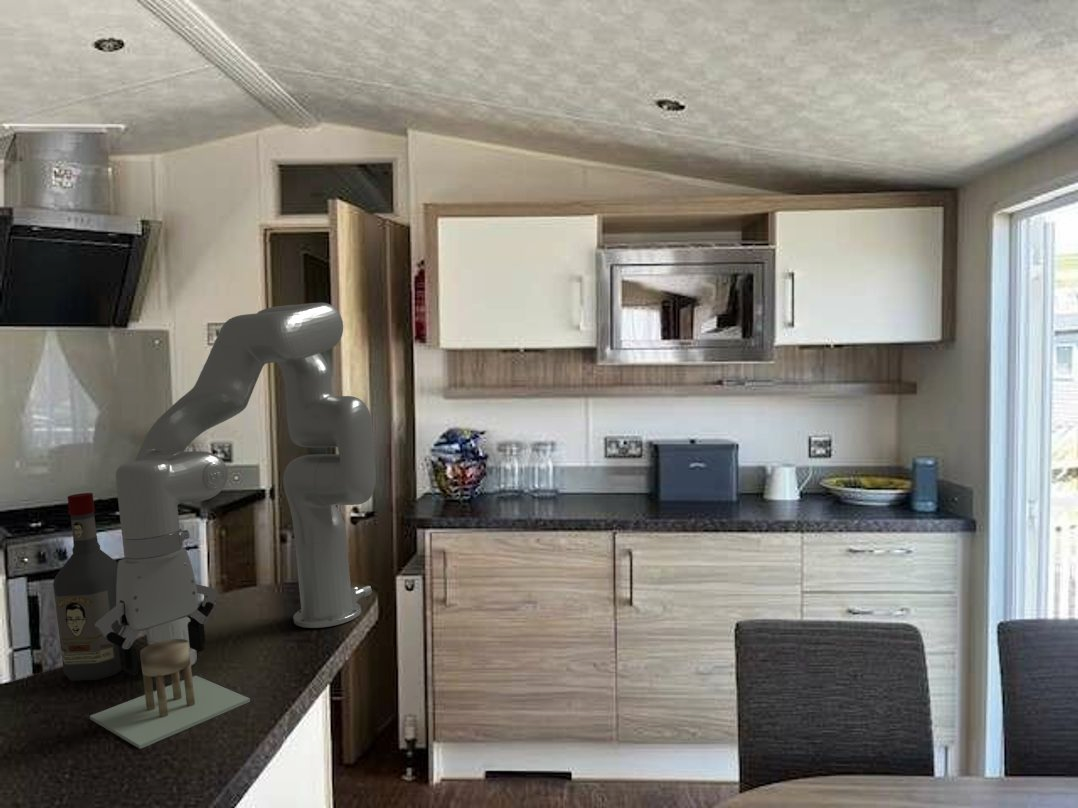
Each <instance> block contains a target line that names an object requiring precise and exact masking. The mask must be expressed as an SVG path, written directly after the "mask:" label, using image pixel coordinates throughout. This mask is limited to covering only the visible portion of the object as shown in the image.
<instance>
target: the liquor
mask: <svg viewBox="0 0 1078 808" xmlns="http://www.w3.org/2000/svg"><path fill="white" fill-rule="evenodd" d="M67 504H68V505H67V506H68V513H69V516H70V522H71V523H70V524H71V531H72V541H73V542H72V543H73V547H72V550H71V551H72V553H71V555H70V557H69V558H68V559H67V560H66V562H65V563H64V564H63V566H62V567H61V569H59V571H58V572H57V573H56V575H55V576H54V580H53V583H52V584H53V585H52V586H53V592H54V593H53V595H54V600H55V601H54V602H55V611H56V619H57V627H58V635H59V643H60V645H59V646H60V651H61V661H62V668H63V669H62V671H63V673H64V675H65V676H66V677H67V678H68V679H69V680H70V682H73V681H74V682H75V681H76V682H77V681H97V680H102V679H106V678H109V677H112V676H115V675H118V674H119V673H120V672H121V671H124V670H123V669H122V668H121V664H120V655H119V646H116V645H115V644H113V643H111V642H109V641H108V640H106V639H104V637H103V635H101V633H100V632H99V631H98V630H97V629H96V627H95V623H96V622H97V621H98V620H99V619H101V618H102V617H103V616H104V615H106V614H107V613H108V612H109V611H110V610H112V609H113V608H114V607H115V606H116V580H117V568H118V562H119V561H116V560H115V559H114V558H112V557H111V556H110V555H108V554H107V553H105V552H104V551H103V550H102V549H101V545H100V543H99V540H98V535H97V527H96V519H95V513H94V512H96V511H95V504H94V494H93V492H85V493H84V492H82V493H76V494H72V495H68V496H67ZM122 627H123V626H120V625H119V623H118V619H117V620H116V621H115V622H114V623H113V624H112V625H111V628H112V629H113V631H114V632H115V633H116V634H119V632H120V630H121V629H122ZM132 646H134V642H133V643H132Z"/></svg>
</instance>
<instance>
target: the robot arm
mask: <svg viewBox="0 0 1078 808" xmlns="http://www.w3.org/2000/svg"><path fill="white" fill-rule="evenodd" d="M343 332H344V322H343V317H342V316H341V314H340V312H339V311H338V310H337V309H336V308H335V306H333V305H331V304H330V303H327V302H311V303H301V304H300V303H299V304H287V305H286V304H285V305H278V306H271V307H268V308H267V307H266V308H263V309H261V310H259V311H258V312H256V313H247V314H246V313H245V314H241V315H235V316H233V317H231V318H229V319H228V320H226V321H225V322H224V323H223V325H222V326H221V327H220V330H219V332H218V334H217V335H216V336H217V337H216V339H215V341H214V343H213V346H212V347H211V349H210V352H209V354H208V356H207V358H206V361H205V363H204V365H203V368H202V370H201V372H200V374H199V375H198V378H197V380H196V382H195V384H194V386H193V387H192V388H191V389H190V390H189V391H188V392H187V393H185V394H184V395H183V396H182V397H180V398H179V399H178V400H177V401H176V402H175V403H173V405H171V407H169V408H168V409H167V410H166V411H164V413H163V414H161V416H160V417H159V418H158V419H157V420H156V421H155V422H154V423H153V424H152V426H151V428H149V430H148V432H147V434H146V435H145V438H144V439H143V441H142V443H141V446H140V448H139V450H138V452H137V455H136V457H135V460H134V461H130V462H127V463H124V464H122V465H119V466H118V468H117V469H116V472H115V485H116V486H115V487H116V492H117V493H116V494H117V501H118V502H117V504H118V511H119V512H118V513H119V520H120V529H121V537H122V546H123V547H122V548H123V555H124V556H123V557H124V559H123V558H122V559H119V560H118V561H117V562H118V568H117V580H116V606H115V607H114V608H113V609H112V610H110V611H109V612H108V613H107V614H106V615H104V616H103V617H102V618H101V619H99V620H98V621H97V622H96V623H95V627H96V629H97V630H98V631H99V632H100V633H101V635H103V637H104V639H106V640H108V641H109V642H111V643H113V644H115V645H116V646H119V655H120V664H121V668H122V669H123V670H122V671H124V672H125V673H127V674H129V675H131V676H137V675H138V674H139V673H140V670H139V662H138V661H139V659H138V653H137V652H138V651H137V648H136V646H134V645H133V646H132V643H133V644H134V642H135V640H136V639H137V637H138V635H139V634H140V632H141V631H146V629H150V628H153V627H156V626H159V625H162V624H166V623H169V622H172V621H175V620H178V619H181V618H184V617H188V618H189V619H190V622H188V625H187V626H188V636H189V645H190V648H191V649H194V650H196V652H199V653H200V652H204V651H205V644H204V643H206V635H205V634H206V633H205V623H207V622H208V617H209V615H210V613H211V612H212V610H213V608H214V603H215V601H216V598H217V596H218V592H219V590H218V589H217V588H215V587H210V586H207V585H202V584H199V583H198V584H197V582H196V578H195V574H194V573H195V572H194V570H193V566H192V561H191V559H190V557H189V556H190V555H189V554H188V551H187V549H186V548H185V547H183V546H184V541H185V540H188V539H190V532H189V530H188V529H184V530H182V528H180V527H181V526H180V519H179V518H180V516H179V510H178V506H179V505H180V504H182V503H192V502H203V501H207V500H210V499H211V498H213V497H215V496H217V495H218V494H220V493H221V492H222V490H223V489H224V488H225V486H226V485H227V481H228V478H229V477H228V475H229V474H228V468H227V465H226V463H225V461H224V460H223V459H222V458H221V457H219V456H218V455H217V454H215V453H212V452H209V451H201V450H197V451H196V450H195V451H194V450H193V451H186V449H187V448H188V447H189V446H190V444H191V443H192V442H193V441H194V440H196V438H198V437H199V436H200V435H202V434H203V433H204V432H206V431H207V430H210V429H211V428H213V427H215V426H217V425H220V424H222V423H224V422H226V421H227V420H230V419H232V418H233V417H235V416H237V415H239V414H240V413H242V412H243V411H244V410H245V409H246V408H247V406H248V404H249V402H250V399H251V396H252V394H253V392H254V389H255V387H256V384H257V381H258V379H259V377H260V375H261V373H262V370H263V367H264V366H265V365H267V364H272V363H273V364H275V363H277V365H278V366H279V368H280V370H281V373H282V376H283V382H284V389H285V401H286V416H287V428H288V433H289V438H290V440H291V441H292V443H293V444H295V445H297V446H299V447H303V448H337V450H338V454H337V453H335V454H332V453H331V454H330V453H327V454H326V453H325V454H324V453H323V454H322V453H320V454H317V453H316V454H305V455H301V456H299V457H295V458H294V459H293V460H291V461H290V462H289V463H288V464H287V465H286V466H285V469H284V471H283V475H282V477H283V478H282V483H283V484H282V485H283V488H284V492H285V496H286V497H285V498H286V500H287V502H288V507H289V509H290V515H291V519H292V527H293V535H294V536H293V537H294V548H295V556H296V557H295V558H296V568H297V569H296V570H297V579H298V589H299V599H300V608H301V609H298V610H297V612H295V613H294V615H292V616H293V617H292V618H293V623H294V625H296V626H298V627H300V628H306V629H307V628H308V629H319V628H320V629H321V628H329V627H334V626H339V625H342V624H345V623H347V622H348V623H349V622H351V621H353V620H355V619H356V618H357V617H359V616H360V615H361V613H362V607H361V604H359V603H358V601H360V599H361V598H364V597H368V596H370V595H371V594H372V593H373V591H372V588H371V586H370V585H369V584H368V585H365V586H362V587H359V588H358V587H357V586H353V587H351V578H350V566H349V565H350V564H349V556H348V555H349V554H348V542H347V530H346V524H345V520H344V518H343V515H342V514H341V511H340V510H339V508H338V507H337V506H354V505H355V506H357V505H362V504H364V503H366V502H368V501H369V500H370V499H371V498H372V496H373V494H374V492H375V488H376V482H377V481H376V480H377V479H376V478H377V475H376V459H375V458H376V457H375V454H376V453H375V443H374V442H375V441H374V440H375V439H374V427H373V420H372V416H371V412H370V409H369V408H368V407H367V404H366V403H365V402H364V401H363V400H362V399H360V398H358V397H356V396H350V395H341V396H340V395H336V396H334V394H333V386H332V375H331V370H330V368H329V365H328V363H327V361H326V359H325V358H324V356H323V355H322V354H321V353H325V352H326V351H329V350H332V349H333V348H334V347H336V346H337V345H338V344H339V342H340V341H341V339H342V337H343ZM198 594H200V595H203V600H202V602H201V603H200V604H199V596H198ZM117 619H118V623H119V625H120V626H123V627H122V629H121V630H120V632H119V634H116V633H115V632H114V631H113V629H112V628H111V625H112V624H113V623H114V622H115V621H116V620H117Z"/></svg>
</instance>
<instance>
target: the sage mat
mask: <svg viewBox="0 0 1078 808" xmlns="http://www.w3.org/2000/svg"><path fill="white" fill-rule="evenodd" d="M192 681H193V690H194V699H195V704H194V705H193V706H187V702H186V693H185V684H184V679H182V680H180V686H181V695H182V698H181V699H179V700H174V697H173V688H172V684H170V685H167V686H165V691H166V700H167V709H168V716H166V717H160V715H159V706H158V697H157V689H156V690H153V693H154V702H155V709H154V710H151V711H147V707H146V698H145V694H143V695H140V696H138V697H136V698H135V697H134V698H133V699H130V700H128V701H125V702H122V703H120V704H117V705H115V706H112V707H109V708H107V709H105V710H102V711H100V712H96V713H93V714H91V715H89V720H91V721H92V722H94V723H96V724H97V725H99V726H101V727H103V728H105V729H106V730H107V731H110V733H113V734H114V735H116V736H118V737H120V739H122V740H124V741H126V742H128V743H129V744H131V745H132V746H134V747H136V748H137V749H139V750H140V749H143V748H146V747H148V746H150V745H152V744H155V743H157V742H160V741H162V740H164V739H166V738H169V737H171V736H174V735H176V734H178V733H181V732H183V731H185V730H188V729H190V728H192V727H194V726H197V725H199V724H202V723H204V722H206V721H209V720H211V719H213V718H216V717H217V716H220V715H223V714H224V713H227V712H230V711H232V710H234V709H236V708H239V707H240V706H243V705H246V704H248V703H251V699H250V697H248V696H245V695H243V694H240V693H238V692H236V691H234V690H231V689H229V688H226V687H223V686H221V685H219V684H217V683H214V682H212V681H210V680H207V679H205V678H202V677H200V676H198V675H194V676H193V675H192Z"/></svg>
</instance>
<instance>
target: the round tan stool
mask: <svg viewBox="0 0 1078 808" xmlns="http://www.w3.org/2000/svg"><path fill="white" fill-rule="evenodd" d="M139 654H140V663H141V671H142V672H141V673H142V679H143V681H142V682H143V687H144V688H143V689H144V695H145V698H146V707H147V711H151V710H154V709H155V702H154V693H153V692H154V685H153V677H155V687H156V690H157V697H158V706H159V715H160V717H166V716H168V709H167V700H166V691H165V687H166V684H165V676H166V675H167V676H168V675H170V677H171V685H172V688H173V697H174V700H179V699H181V698H182V695H181V686H180V681H181V680H180V679H181V678H180V672H181V671H182V672H183V680H184V684H185V693H186V702H187V706H193V705H194V704H195V699H194V690H193V681H192V677H193V673H192V665H191V664H190V653H189V644H188V641H187V640H184V639H170V640H164V641H160V642H156V643H153V644H151V645H146V646H144V647H143V648H141V650H140V652H139Z"/></svg>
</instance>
